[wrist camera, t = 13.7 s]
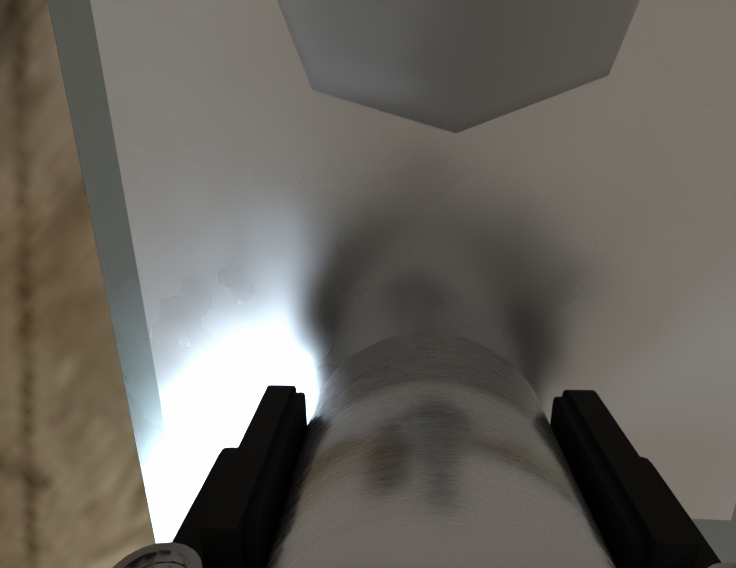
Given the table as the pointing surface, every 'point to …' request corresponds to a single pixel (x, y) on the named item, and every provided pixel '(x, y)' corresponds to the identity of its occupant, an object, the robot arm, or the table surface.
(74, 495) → the table surface
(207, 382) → the scale
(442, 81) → the flask
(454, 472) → the silver jar with knob
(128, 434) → the table surface
